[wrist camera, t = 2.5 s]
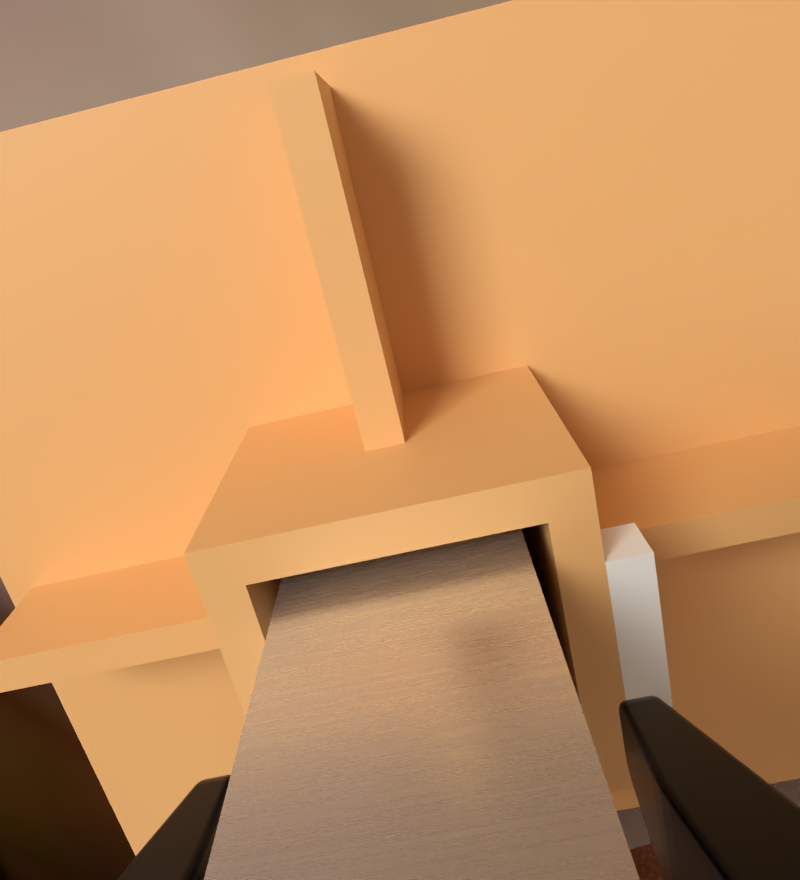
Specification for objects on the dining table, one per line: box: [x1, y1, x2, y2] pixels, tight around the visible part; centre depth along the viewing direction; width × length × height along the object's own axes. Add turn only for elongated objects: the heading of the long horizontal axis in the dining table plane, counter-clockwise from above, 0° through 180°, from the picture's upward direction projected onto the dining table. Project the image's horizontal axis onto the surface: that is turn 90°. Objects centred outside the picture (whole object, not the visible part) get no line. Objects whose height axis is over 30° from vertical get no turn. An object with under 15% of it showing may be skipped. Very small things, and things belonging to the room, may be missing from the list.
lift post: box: [204, 529, 640, 880], centre depth 9 cm, size 3×3×10 cm
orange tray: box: [0, 0, 800, 856], centre depth 13 cm, size 16×16×6 cm
